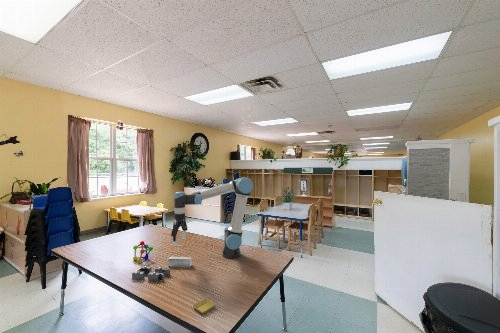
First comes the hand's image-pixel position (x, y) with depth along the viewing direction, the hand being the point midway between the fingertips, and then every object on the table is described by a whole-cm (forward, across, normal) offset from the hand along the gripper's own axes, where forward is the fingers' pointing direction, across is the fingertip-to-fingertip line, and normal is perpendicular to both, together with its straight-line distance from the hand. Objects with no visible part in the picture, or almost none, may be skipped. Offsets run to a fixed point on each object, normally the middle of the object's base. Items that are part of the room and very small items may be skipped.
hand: (179, 242), depth 160 cm
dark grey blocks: (+17, +19, -10) cm, 27 cm away
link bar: (+17, 0, +1) cm, 17 cm away
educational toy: (+17, -5, -34) cm, 38 cm away
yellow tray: (+17, +44, +36) cm, 60 cm away
